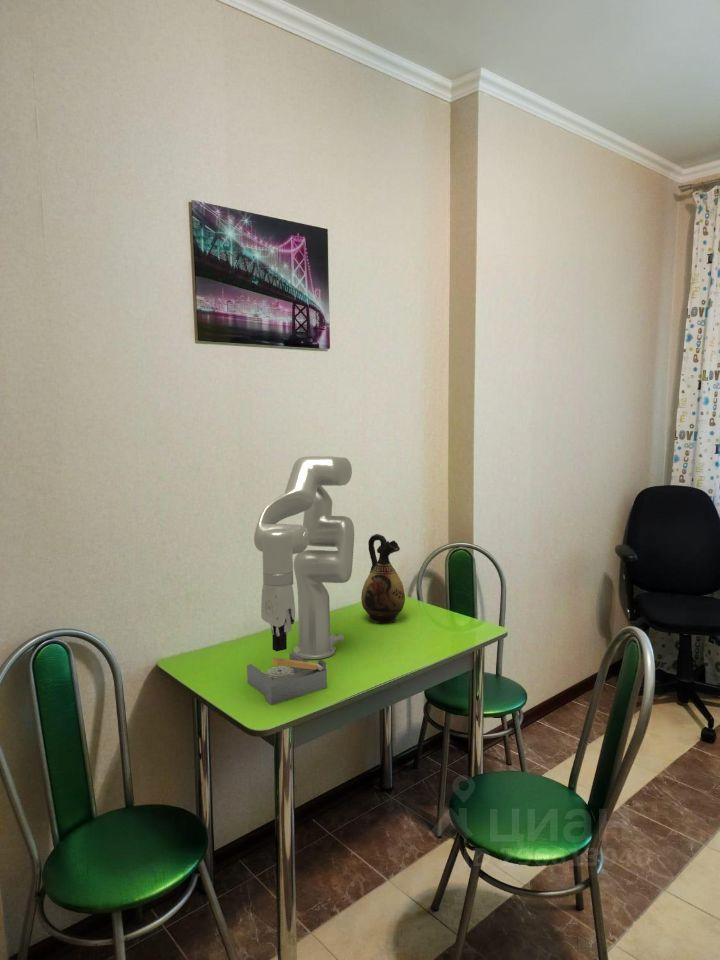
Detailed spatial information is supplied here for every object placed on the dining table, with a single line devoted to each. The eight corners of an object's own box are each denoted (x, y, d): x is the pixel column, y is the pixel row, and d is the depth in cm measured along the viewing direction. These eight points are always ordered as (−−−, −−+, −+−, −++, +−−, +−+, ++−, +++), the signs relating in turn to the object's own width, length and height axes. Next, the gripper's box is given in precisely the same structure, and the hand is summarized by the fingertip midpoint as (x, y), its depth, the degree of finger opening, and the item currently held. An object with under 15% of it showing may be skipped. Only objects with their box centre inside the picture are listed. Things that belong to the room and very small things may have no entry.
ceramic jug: (413, 617, 227) (413, 534, 224) (388, 629, 215) (387, 542, 211) (375, 609, 237) (374, 529, 234) (349, 620, 225) (347, 536, 222)
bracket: (296, 668, 184) (296, 645, 183) (327, 687, 171) (326, 663, 170) (243, 683, 174) (242, 659, 173) (271, 705, 161) (270, 679, 161)
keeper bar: (316, 667, 172) (317, 662, 172) (322, 670, 170) (323, 666, 170) (271, 661, 164) (272, 657, 164) (276, 665, 161) (278, 660, 161)
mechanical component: (301, 692, 169) (295, 677, 179) (301, 675, 169) (294, 661, 178) (263, 696, 166) (259, 681, 176) (263, 680, 166) (258, 665, 176)
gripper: (251, 575, 165) (253, 644, 167) (279, 586, 153) (280, 661, 154) (277, 571, 169) (278, 638, 171) (306, 582, 157) (307, 654, 159)
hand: (279, 649), depth 163 cm, fingers closed
